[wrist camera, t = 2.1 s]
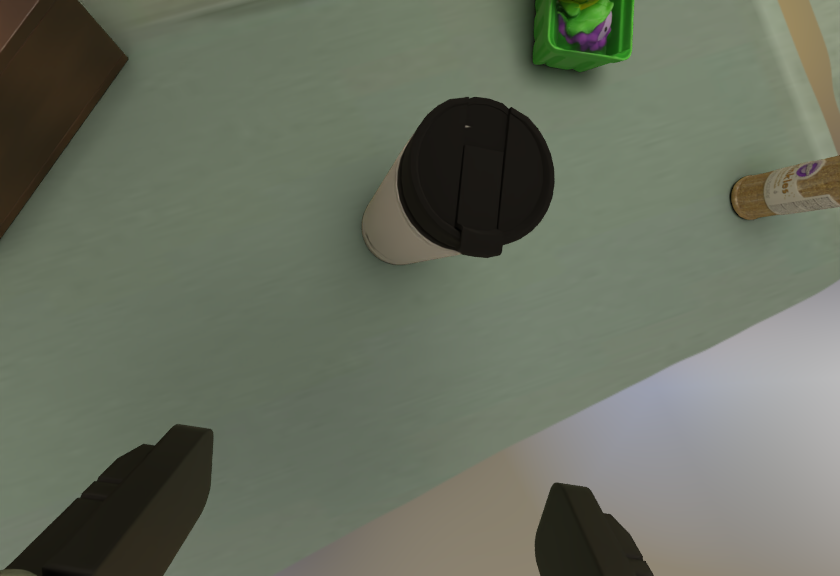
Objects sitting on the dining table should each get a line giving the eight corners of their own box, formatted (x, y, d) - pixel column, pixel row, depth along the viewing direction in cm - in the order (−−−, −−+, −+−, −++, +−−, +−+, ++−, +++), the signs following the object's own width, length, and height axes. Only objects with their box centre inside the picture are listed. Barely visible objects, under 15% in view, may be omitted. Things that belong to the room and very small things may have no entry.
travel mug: (356, 264, 35) (400, 243, 15) (366, 184, 35) (421, 64, 15) (429, 273, 36) (554, 266, 17) (438, 197, 36) (573, 101, 17)
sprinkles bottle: (737, 169, 43) (916, 121, 30) (769, 188, 44) (956, 149, 31) (722, 209, 43) (897, 178, 30) (755, 228, 44) (938, 206, 31)
